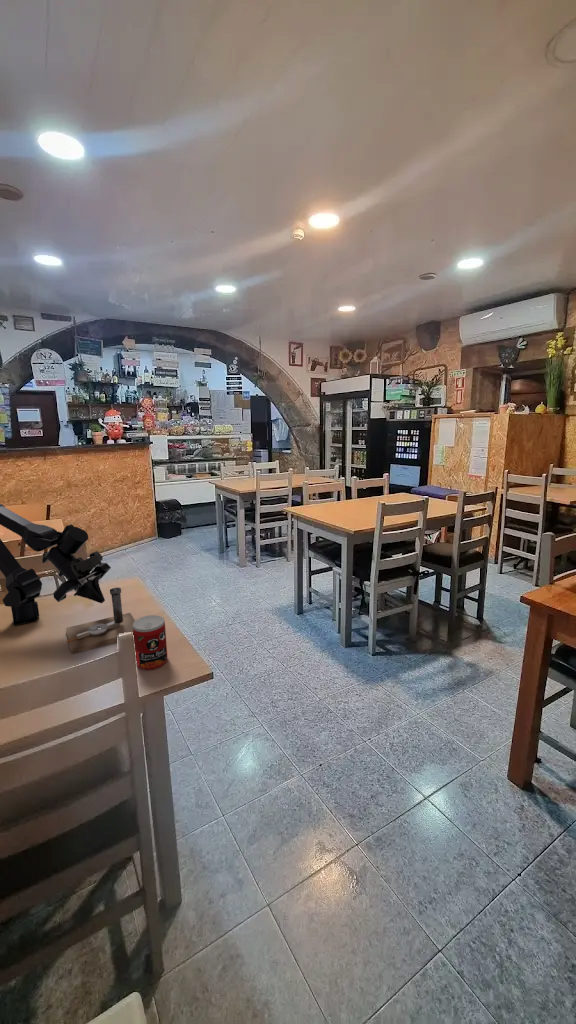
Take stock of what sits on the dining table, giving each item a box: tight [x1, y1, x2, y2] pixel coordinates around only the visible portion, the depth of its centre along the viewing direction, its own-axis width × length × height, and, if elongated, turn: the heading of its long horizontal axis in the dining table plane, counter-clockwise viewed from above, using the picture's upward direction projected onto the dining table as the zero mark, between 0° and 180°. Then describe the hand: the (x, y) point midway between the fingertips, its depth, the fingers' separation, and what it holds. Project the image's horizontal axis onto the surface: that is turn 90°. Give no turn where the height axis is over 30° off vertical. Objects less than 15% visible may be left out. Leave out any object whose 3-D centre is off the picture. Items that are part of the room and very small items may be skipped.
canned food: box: [133, 614, 168, 671], centre depth 105 cm, size 8×8×11 cm
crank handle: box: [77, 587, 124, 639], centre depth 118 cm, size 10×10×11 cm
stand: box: [65, 612, 136, 655], centre depth 120 cm, size 19×14×2 cm
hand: (103, 602), depth 122 cm, fingers closed
